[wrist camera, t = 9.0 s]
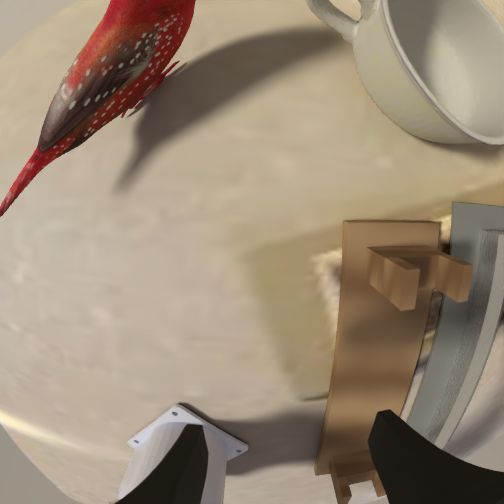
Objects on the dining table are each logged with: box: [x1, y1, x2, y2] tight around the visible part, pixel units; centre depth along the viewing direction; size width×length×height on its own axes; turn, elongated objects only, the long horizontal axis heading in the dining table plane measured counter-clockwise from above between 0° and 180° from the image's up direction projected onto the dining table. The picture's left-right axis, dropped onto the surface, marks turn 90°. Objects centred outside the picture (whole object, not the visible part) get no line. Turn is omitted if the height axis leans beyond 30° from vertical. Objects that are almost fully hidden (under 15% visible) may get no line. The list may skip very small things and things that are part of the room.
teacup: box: [305, 0, 504, 145], centre depth 11 cm, size 14×11×8 cm
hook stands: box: [314, 221, 473, 504], centre depth 17 cm, size 25×7×6 cm, turn 2°
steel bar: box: [423, 230, 504, 449], centre depth 18 cm, size 24×2×2 cm, turn 2°
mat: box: [406, 202, 504, 442], centre depth 20 cm, size 28×9×1 cm, turn 2°
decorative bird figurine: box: [0, 0, 196, 217], centre depth 11 cm, size 3×18×10 cm, turn 133°
